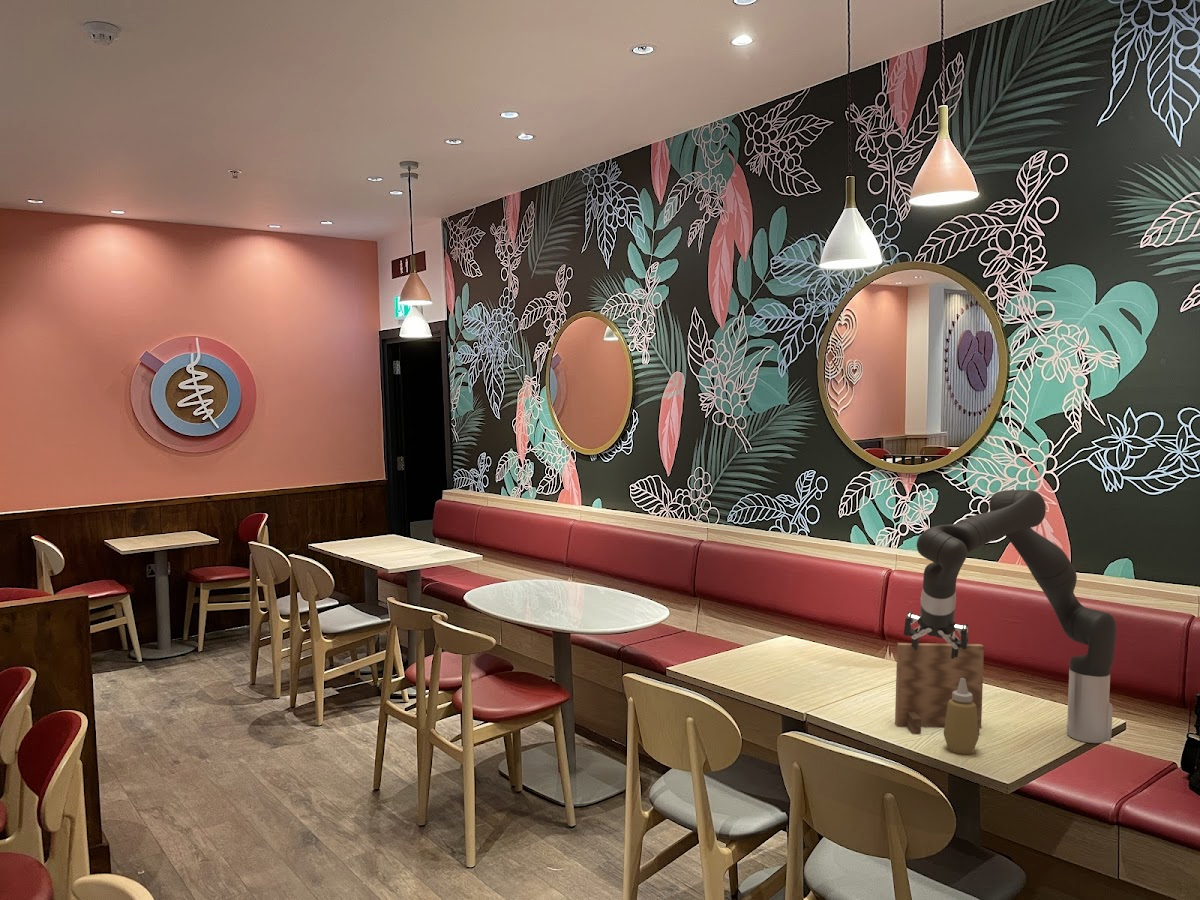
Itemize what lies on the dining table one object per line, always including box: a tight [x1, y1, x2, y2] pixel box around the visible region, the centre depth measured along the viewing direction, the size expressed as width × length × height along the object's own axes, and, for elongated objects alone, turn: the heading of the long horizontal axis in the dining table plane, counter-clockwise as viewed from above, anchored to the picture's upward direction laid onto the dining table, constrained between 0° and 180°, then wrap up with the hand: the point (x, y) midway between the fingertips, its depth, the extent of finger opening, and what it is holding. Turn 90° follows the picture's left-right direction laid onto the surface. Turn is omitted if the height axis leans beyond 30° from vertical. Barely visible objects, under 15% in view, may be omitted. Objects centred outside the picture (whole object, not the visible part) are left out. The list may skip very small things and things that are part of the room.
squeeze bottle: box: [943, 678, 980, 755], centre depth 220 cm, size 8×8×18 cm
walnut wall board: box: [894, 642, 985, 736], centre depth 233 cm, size 22×7×22 cm, turn 88°
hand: (934, 651), depth 215 cm, fingers open, 8 cm apart
